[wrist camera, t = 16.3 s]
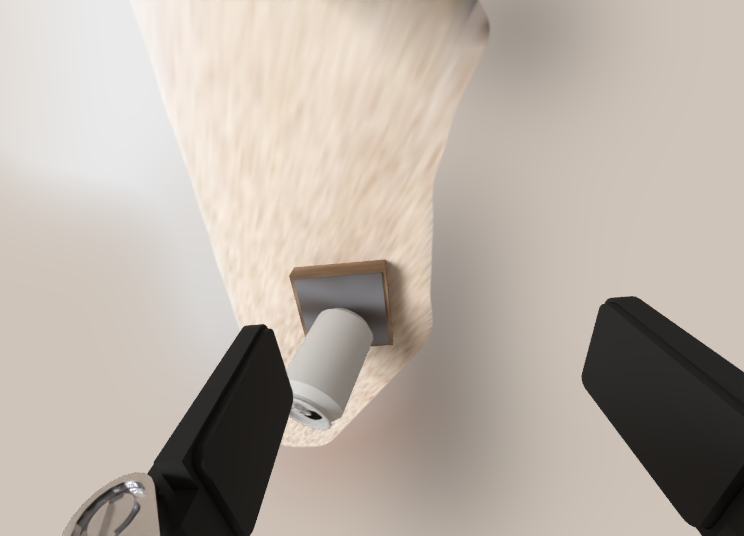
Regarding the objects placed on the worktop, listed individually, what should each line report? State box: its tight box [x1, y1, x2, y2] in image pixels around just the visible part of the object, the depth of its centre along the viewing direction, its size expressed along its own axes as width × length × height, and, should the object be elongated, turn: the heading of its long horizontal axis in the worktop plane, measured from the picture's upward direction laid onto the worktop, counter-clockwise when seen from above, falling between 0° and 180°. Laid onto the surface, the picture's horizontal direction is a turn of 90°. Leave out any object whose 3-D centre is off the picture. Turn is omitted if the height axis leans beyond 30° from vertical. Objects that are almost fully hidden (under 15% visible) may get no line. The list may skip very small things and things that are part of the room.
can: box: [286, 308, 373, 430], centre depth 34 cm, size 8×8×12 cm
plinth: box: [289, 260, 393, 346], centre depth 41 cm, size 12×12×3 cm
